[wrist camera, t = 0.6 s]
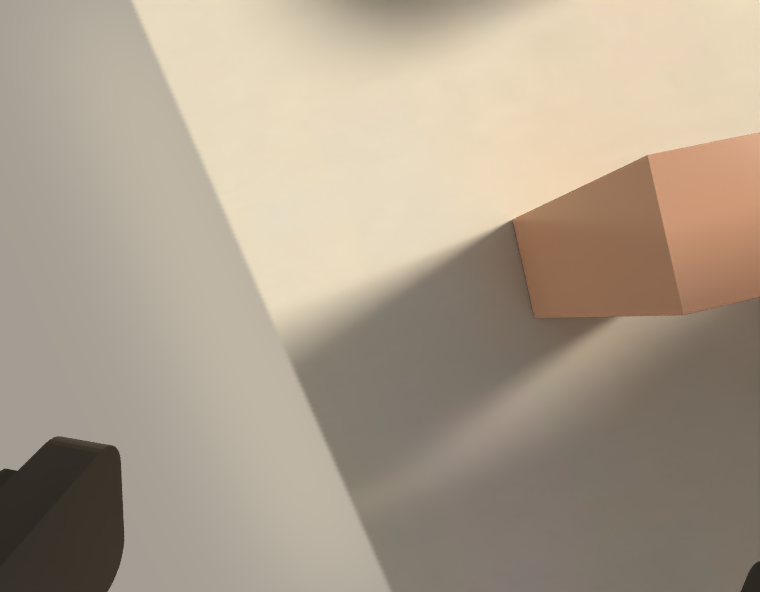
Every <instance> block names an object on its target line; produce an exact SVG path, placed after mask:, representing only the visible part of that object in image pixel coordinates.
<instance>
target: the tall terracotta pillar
mask: <svg viewBox="0 0 760 592" xmlns="http://www.w3.org/2000/svg"><path fill="white" fill-rule="evenodd" d="M513 224H514V228H515V233H516V237H517V242H518V246H519V251H520V255H521V260H522V264H523V269H524V273H525V278H526V282H527V287H528V291H529V296H530V300H531V305H532V309H533V314H534V318H564V317H612V316H659V315H686V314H690V313H694V312H698V311H703V310H707V309H711V308H715V307H720V306H724V305H728V304H732V303H737V302H741V301H745V300H749V299H753V298H758V297H760V133H755V134H750V135H745V136H740V137H735V138H730V139H725V140H720V141H715V142H710V143H705V144H700V145H696V146H691V147H686V148H681V149H676V150H671V151H666V152H661V153H656V154H651V155H647V156H645V157H643V158H641V159H639V160H637V161H634V162H632V163H630V164H628V165H626V166H624V167H622V168H620V169H618V170H616V171H613V172H611V173H609V174H607V175H605V176H603V177H601V178H599V179H597V180H595V181H592V182H590V183H588V184H586V185H584V186H582V187H580V188H578V189H576V190H574V191H571V192H569V193H567V194H565V195H563V196H561V197H559V198H557V199H555V200H553V201H550V202H548V203H546V204H544V205H542V206H540V207H538V208H536V209H534V210H532V211H529V212H527V213H525V214H523V215H521V216H519V217H517V218H515V219H513Z"/></svg>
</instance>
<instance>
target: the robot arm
mask: <svg viewBox="0 0 760 592" xmlns="http://www.w3.org/2000/svg"><path fill="white" fill-rule="evenodd" d="M121 479H122V478H121V460H120V454H119V451H118V450H117V448H116V447H114V446H112V445H106V444H100V443H95V442H89V441H83V440H77V439H72V438H66V437H54V438H53V439H50V440H49V441H48V442H47V443H46V444H45V445H44V446H42V447H41V448H40V449H39V450H38V451H37V452H36V453H35V454H34V455H33V456H32V457H31V458H30V459H29V460H28V461H27V462H26V463H25V465H23V466H22V467H21V468H20V469H19V470H18V471H15V470H10V469H3V470H1V471H0V592H107V591H108V590H109V588H110V587H111V584H112V583H113V581H114V578H115V576H116V573H117V571H118V568H119V565H120V561H121V558H122V553H123V547H124V521H123V501H122V480H121ZM741 592H760V561H759V562H757V563H756V564H755V565H753V567H752V568H751V569H750V571H749V573H748V576H747V578H746V581H745V583H744V585H743V588H742V590H741Z"/></svg>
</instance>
